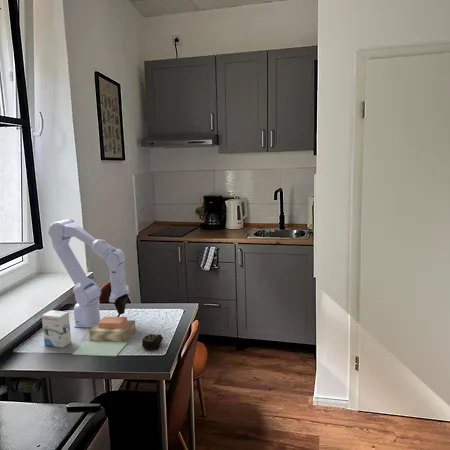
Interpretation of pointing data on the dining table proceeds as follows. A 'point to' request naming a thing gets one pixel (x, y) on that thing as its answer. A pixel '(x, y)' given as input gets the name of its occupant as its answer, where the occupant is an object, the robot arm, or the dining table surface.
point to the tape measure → (151, 341)
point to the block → (112, 322)
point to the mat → (100, 348)
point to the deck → (113, 332)
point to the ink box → (56, 328)
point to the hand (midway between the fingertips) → (121, 313)
